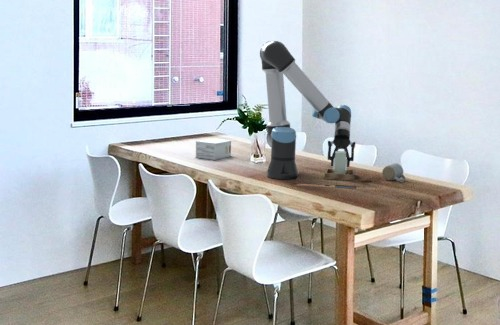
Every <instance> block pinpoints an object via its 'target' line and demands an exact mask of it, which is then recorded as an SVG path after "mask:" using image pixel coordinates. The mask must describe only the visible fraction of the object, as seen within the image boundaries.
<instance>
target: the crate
mask: <svg viewBox="0 0 500 325" xmlns="http://www.w3.org/2000/svg"><path fill="white" fill-rule="evenodd" d="M355 170H356V169H347V174H346V173H345V174H334V173H333V168H325V170H324V176H323V177H324V180H337V181H339V180H340V181H355V178H356V176H355V175H356V171H355Z"/></svg>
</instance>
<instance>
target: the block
mask: <svg viewBox="0 0 500 325" xmlns="http://www.w3.org/2000/svg"><path fill="white" fill-rule="evenodd" d="M345 164H346V152H345V151H344V150H343V151H339V150H338V151H336V152H335V171H334V174H345Z"/></svg>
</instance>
